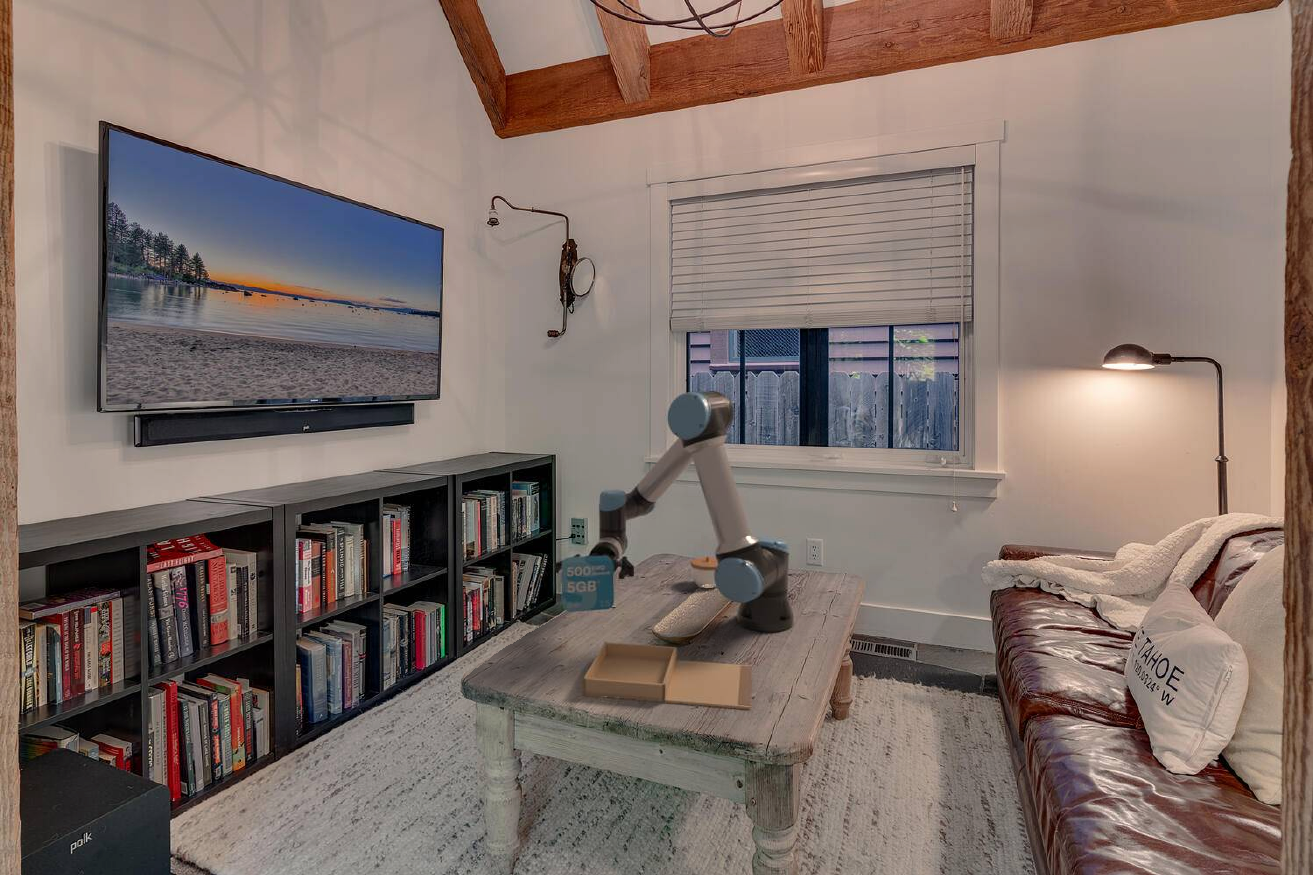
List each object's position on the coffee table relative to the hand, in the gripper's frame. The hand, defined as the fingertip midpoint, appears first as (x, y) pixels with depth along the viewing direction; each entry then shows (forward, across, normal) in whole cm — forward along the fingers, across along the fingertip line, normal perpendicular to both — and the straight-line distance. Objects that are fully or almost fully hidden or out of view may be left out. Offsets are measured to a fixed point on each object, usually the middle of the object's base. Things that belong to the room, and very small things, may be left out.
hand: (587, 579), depth 158 cm
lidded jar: (-55, -26, -18) cm, 63 cm away
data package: (-1, 0, -7) cm, 7 cm away
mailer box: (+12, -22, -18) cm, 31 cm away
